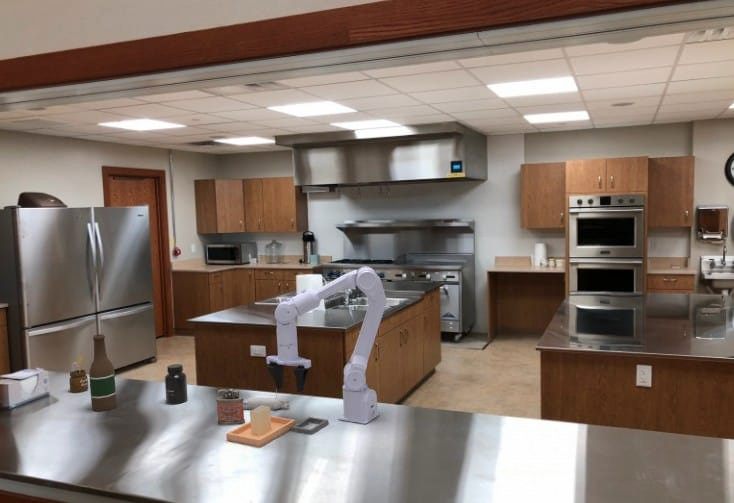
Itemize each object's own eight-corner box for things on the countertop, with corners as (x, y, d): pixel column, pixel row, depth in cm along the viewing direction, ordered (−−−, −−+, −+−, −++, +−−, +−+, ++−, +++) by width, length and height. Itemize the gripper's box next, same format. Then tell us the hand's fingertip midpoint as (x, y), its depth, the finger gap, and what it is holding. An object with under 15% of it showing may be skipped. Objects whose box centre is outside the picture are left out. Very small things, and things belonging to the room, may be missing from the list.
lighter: (246, 420, 174) (244, 387, 174) (242, 425, 171) (240, 391, 170) (220, 420, 175) (217, 387, 174) (216, 425, 172) (213, 391, 171)
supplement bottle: (165, 405, 191) (162, 369, 190) (167, 399, 198) (164, 364, 197) (187, 403, 193) (184, 367, 192) (188, 396, 199) (186, 362, 199)
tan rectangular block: (271, 429, 165) (270, 406, 164) (259, 435, 160) (258, 412, 160) (263, 427, 166) (261, 405, 166) (251, 434, 162) (249, 411, 161)
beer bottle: (121, 407, 192) (115, 334, 190) (96, 413, 187) (90, 338, 185) (112, 402, 198) (106, 331, 196) (88, 408, 192) (81, 335, 190)
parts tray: (295, 426, 167) (295, 420, 167) (260, 447, 154) (259, 440, 154) (263, 421, 173) (263, 414, 173) (226, 440, 160) (226, 433, 160)
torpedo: (231, 411, 184) (230, 391, 183) (237, 406, 188) (236, 386, 188) (287, 412, 181) (286, 391, 180) (291, 407, 185) (290, 386, 185)
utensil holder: (67, 393, 209) (64, 360, 208) (74, 388, 216) (71, 356, 215) (84, 392, 210) (81, 359, 209) (91, 387, 216) (88, 355, 215)
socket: (328, 424, 169) (328, 419, 168) (311, 434, 161) (311, 430, 161) (309, 420, 172) (309, 416, 172) (291, 431, 164) (291, 427, 164)
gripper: (258, 344, 170) (261, 390, 171) (299, 348, 163) (302, 396, 164) (274, 339, 177) (276, 383, 178) (314, 343, 169) (316, 389, 170)
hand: (290, 389), depth 171 cm, fingers open, 7 cm apart
